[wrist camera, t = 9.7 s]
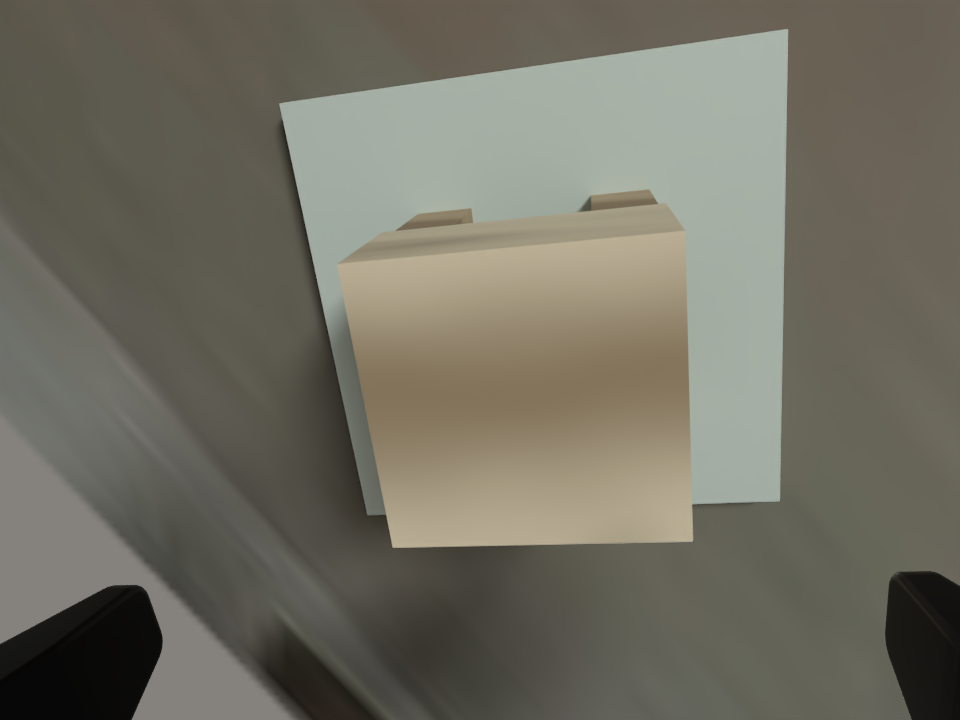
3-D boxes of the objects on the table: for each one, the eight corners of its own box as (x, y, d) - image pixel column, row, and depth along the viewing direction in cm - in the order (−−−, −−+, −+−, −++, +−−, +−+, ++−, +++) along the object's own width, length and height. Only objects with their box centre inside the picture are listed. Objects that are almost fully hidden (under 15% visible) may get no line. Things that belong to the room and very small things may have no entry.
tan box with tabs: (662, 409, 19) (693, 541, 14) (446, 421, 20) (392, 548, 15) (653, 184, 17) (685, 231, 11) (413, 210, 18) (336, 263, 13)
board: (772, 486, 20) (779, 500, 20) (374, 501, 22) (367, 515, 22) (778, 31, 16) (787, 28, 15) (291, 102, 18) (278, 103, 18)
